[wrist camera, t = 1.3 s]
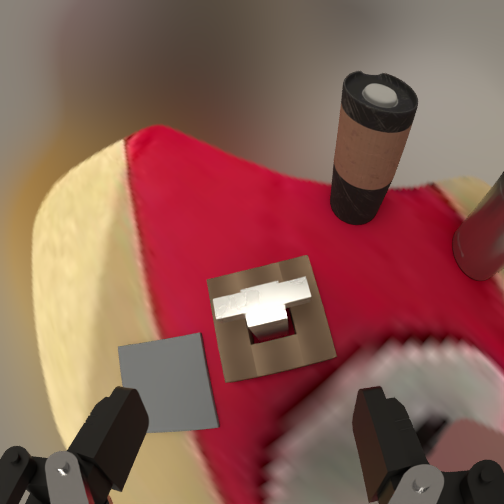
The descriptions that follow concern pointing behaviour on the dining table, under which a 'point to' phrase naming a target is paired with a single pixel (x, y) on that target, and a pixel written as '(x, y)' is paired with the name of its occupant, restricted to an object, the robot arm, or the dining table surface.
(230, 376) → the socket block
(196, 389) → the grey mat
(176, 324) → the dining table surface
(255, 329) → the t key
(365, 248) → the dining table surface
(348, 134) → the travel mug
